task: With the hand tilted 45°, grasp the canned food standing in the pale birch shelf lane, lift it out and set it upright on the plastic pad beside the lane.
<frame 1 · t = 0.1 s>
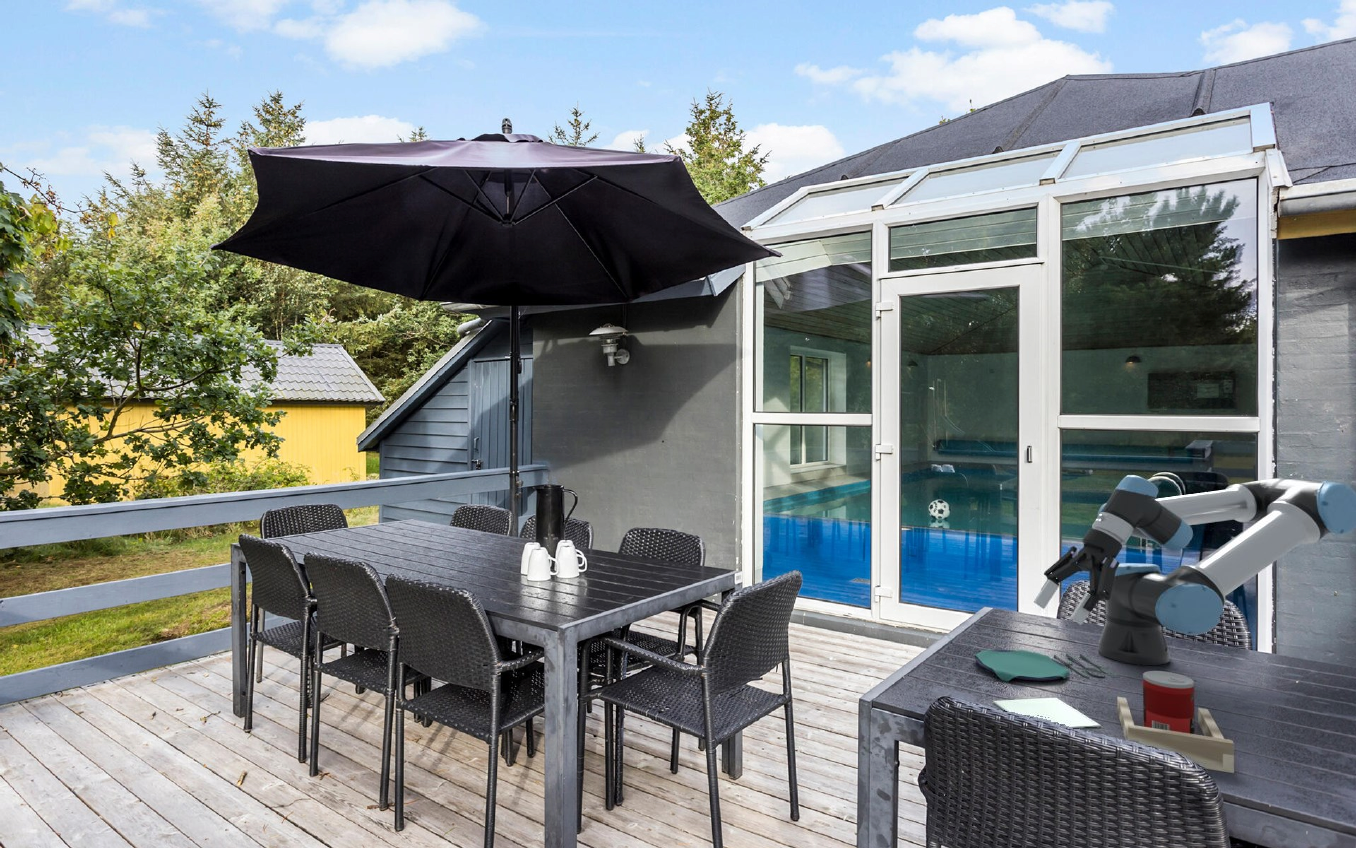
hand: (1056, 613, 165), 15 cm above the table, tool tilted 35°, fingers open, 13 cm apart
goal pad: (1044, 714, 146), on the table
cutlery set: (1041, 672, 172), on the table
canned food: (1168, 737, 135), resting in shelf lane
shelf lane: (1169, 737, 134), on the table
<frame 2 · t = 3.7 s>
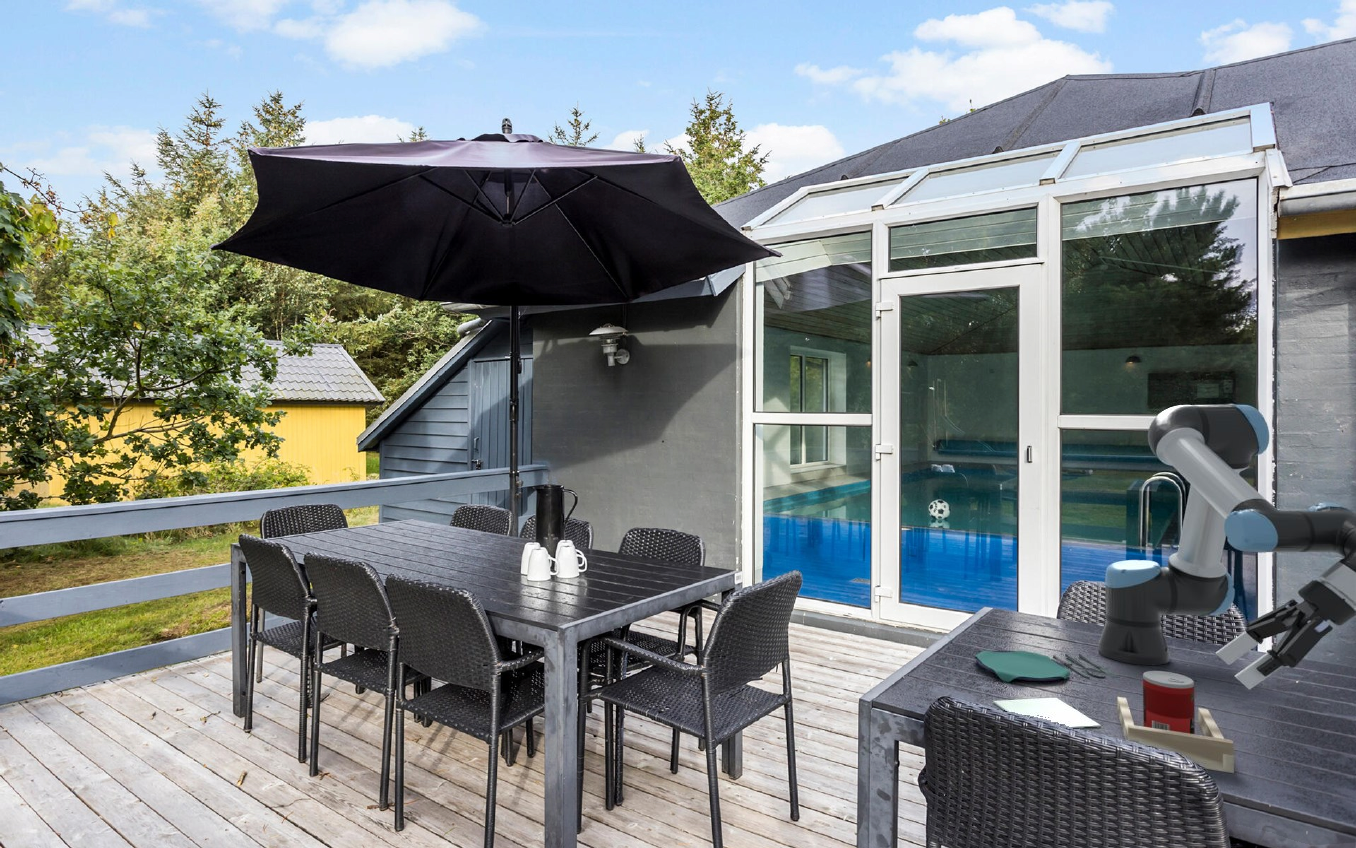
hand: (1231, 670, 131), 14 cm above the table, tool tilted 45°, fingers open, 13 cm apart
nothing on the table moved.
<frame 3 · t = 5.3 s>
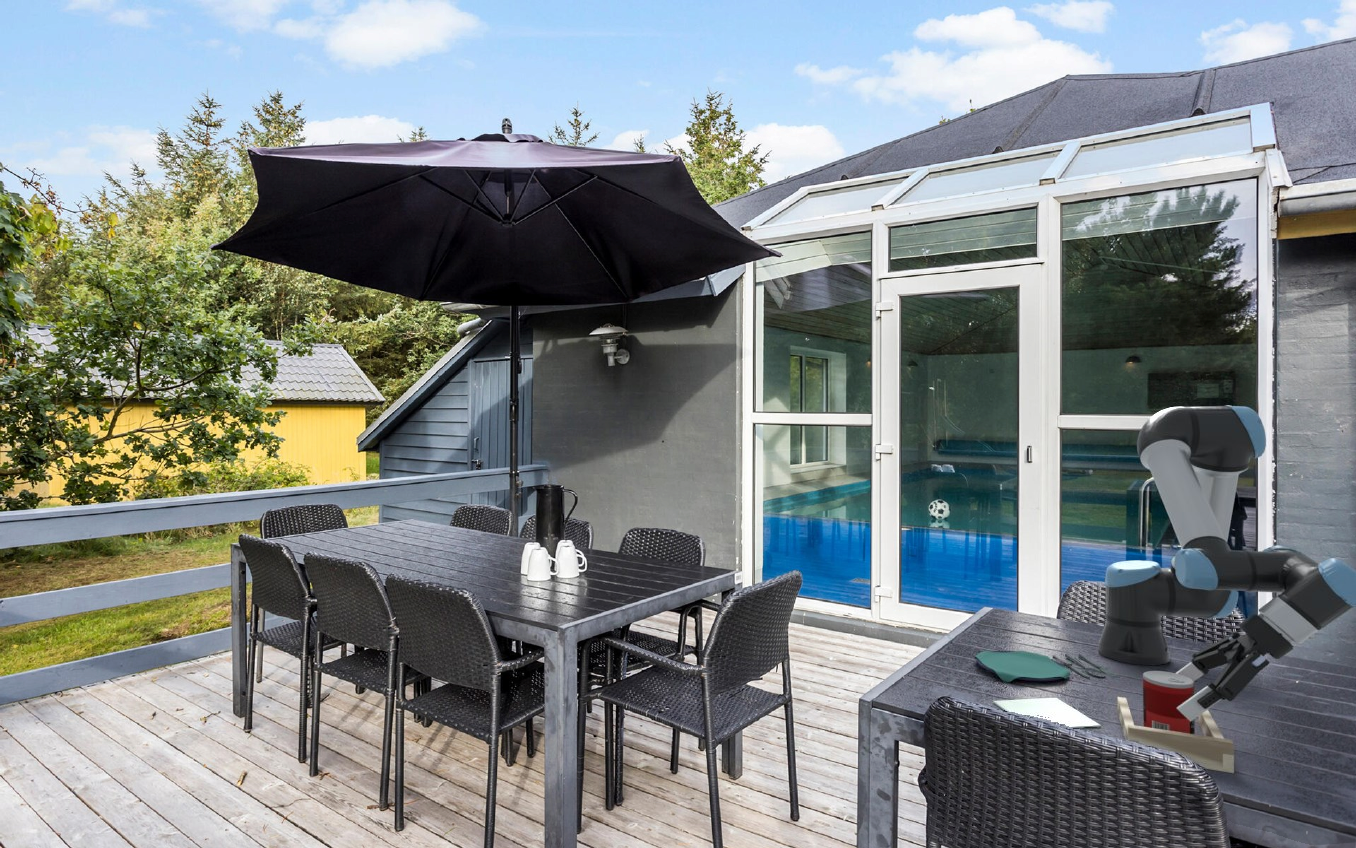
hand: (1175, 701, 134), 7 cm above the table, tool tilted 45°, fingers open, 13 cm apart
nothing on the table moved.
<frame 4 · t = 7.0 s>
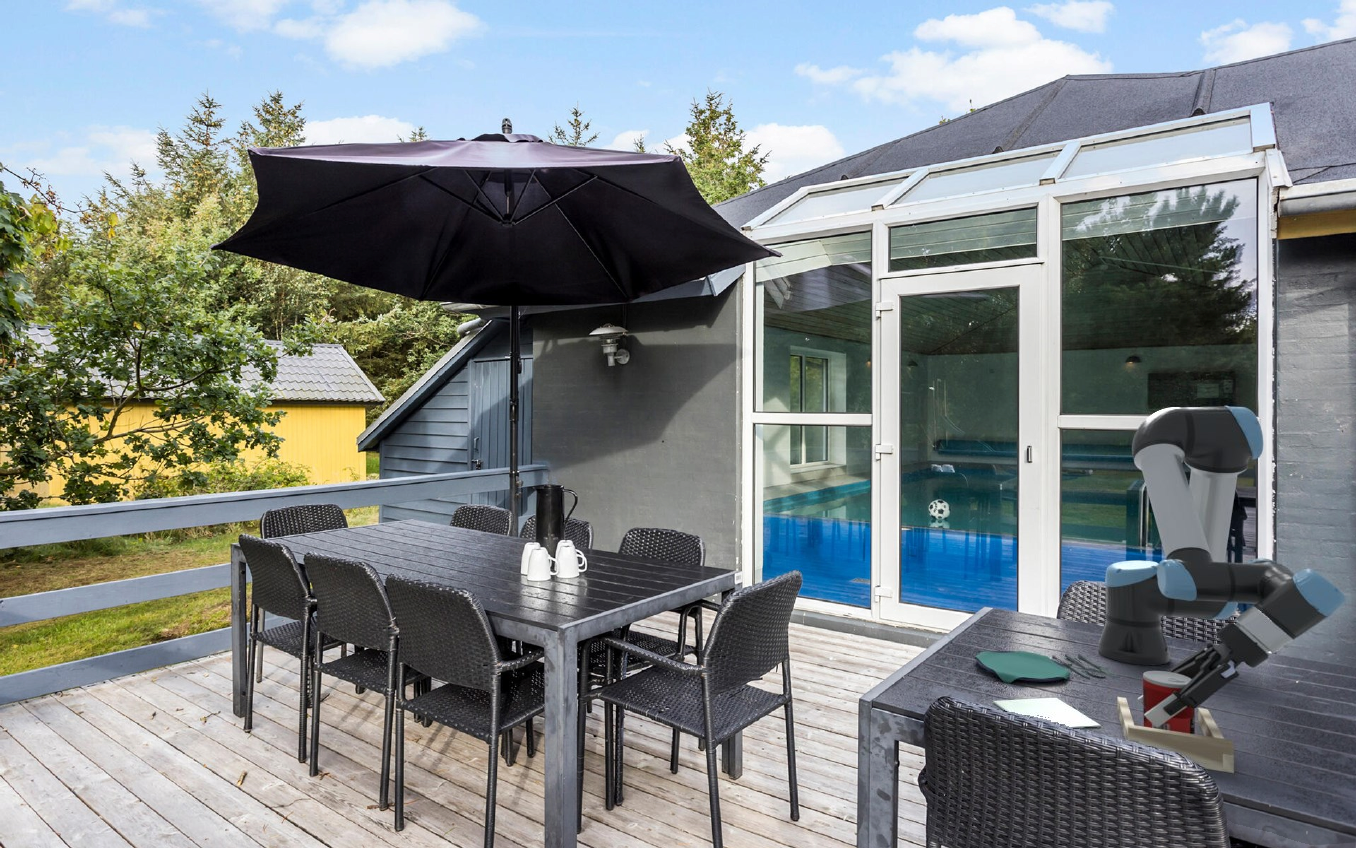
hand: (1147, 712, 137), 4 cm above the table, tool tilted 45°, fingers closed on canned food, 8 cm apart
canned food: (1168, 736, 135), resting in shelf lane, touching gripper
everything else where it was.
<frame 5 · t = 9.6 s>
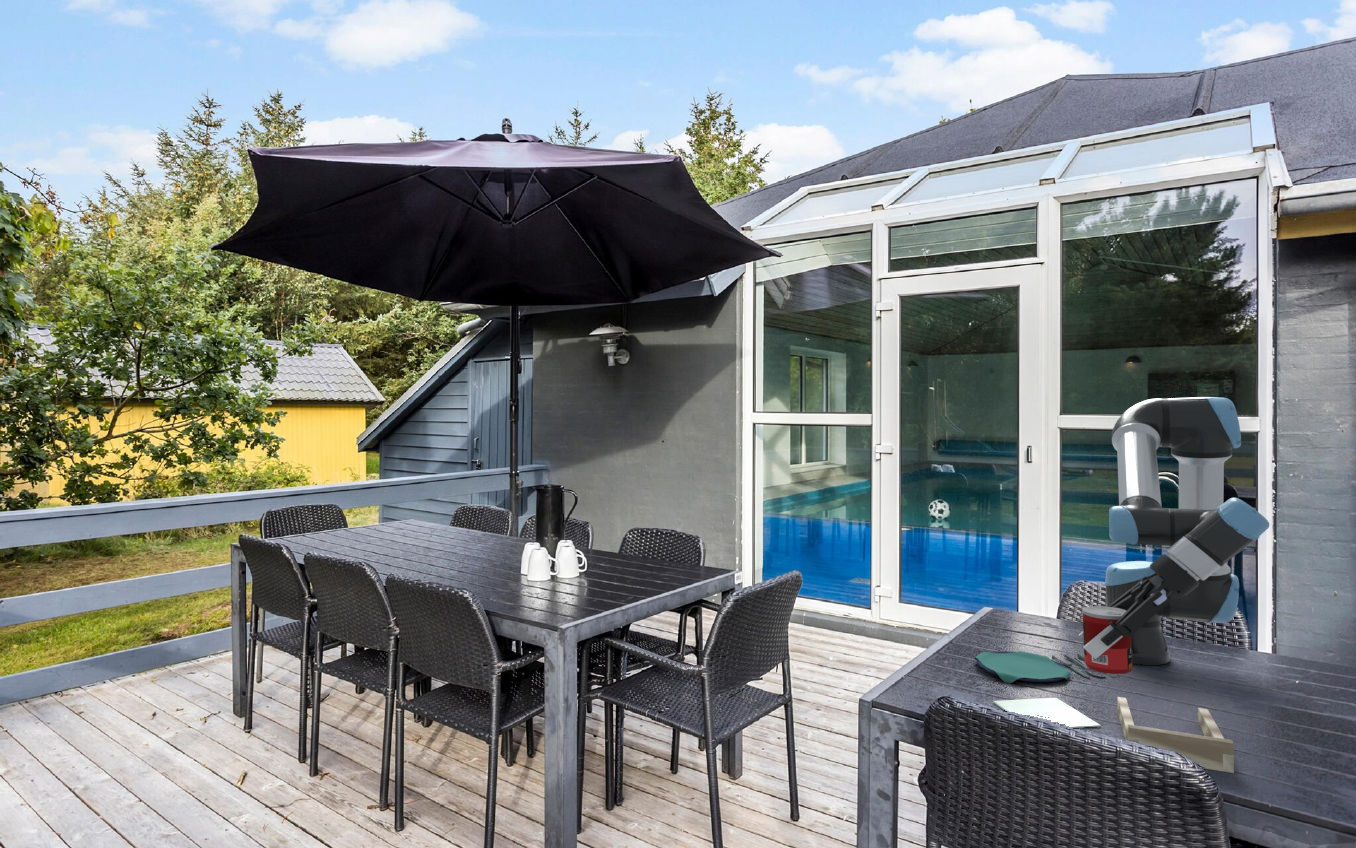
hand: (1087, 646, 140), 15 cm above the table, tool tilted 45°, fingers closed on canned food, 8 cm apart
canned food: (1108, 669, 139), point 12 cm above the table, touching gripper
everything else where it was.
when the fingers open (5 cm above the table, at t = 12.1 s): canned food drops 1 cm, resting on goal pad.
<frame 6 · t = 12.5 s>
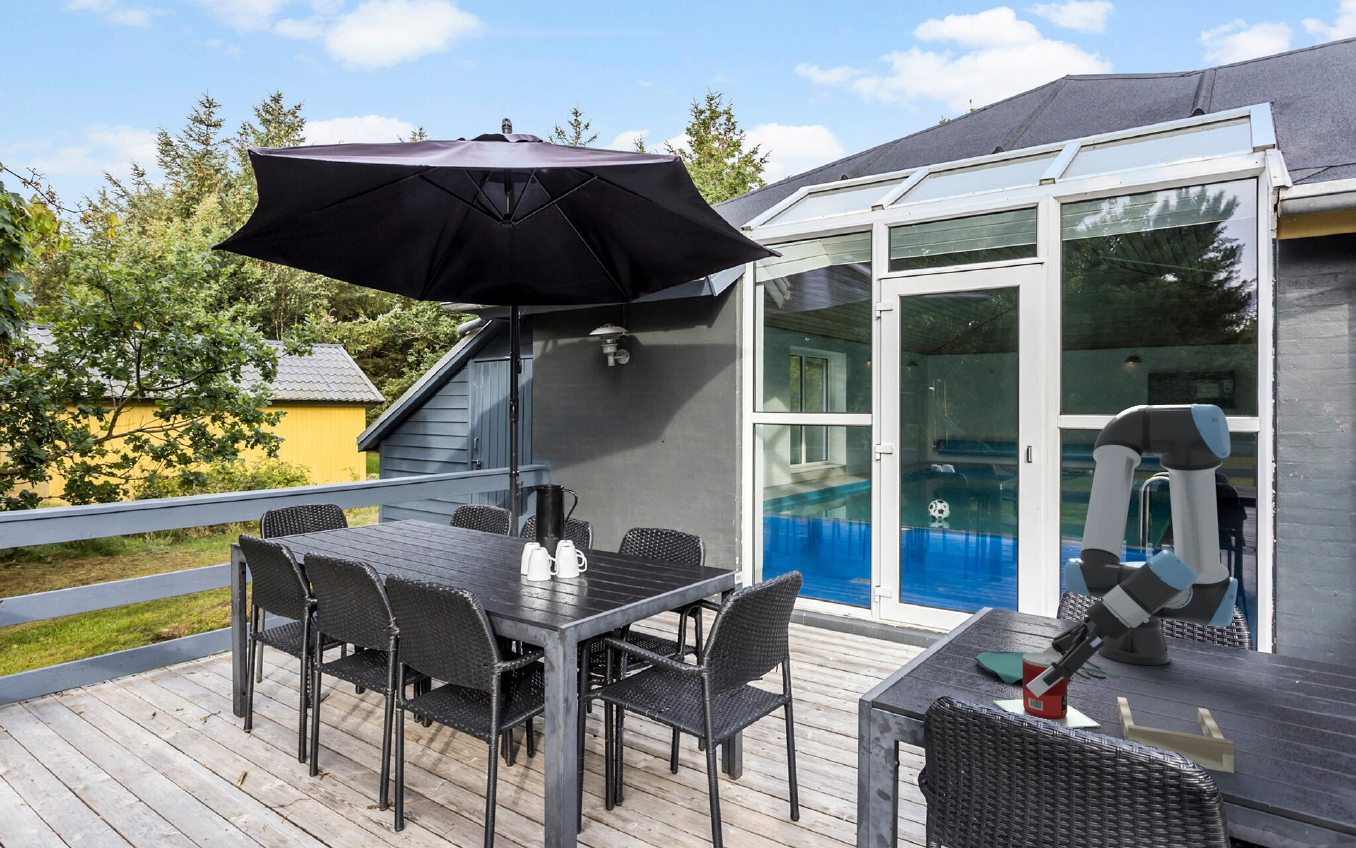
hand: (1031, 680, 147), 7 cm above the table, tool tilted 45°, fingers open, 13 cm apart
canned food: (1045, 713, 146), resting on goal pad
everything else where it was.
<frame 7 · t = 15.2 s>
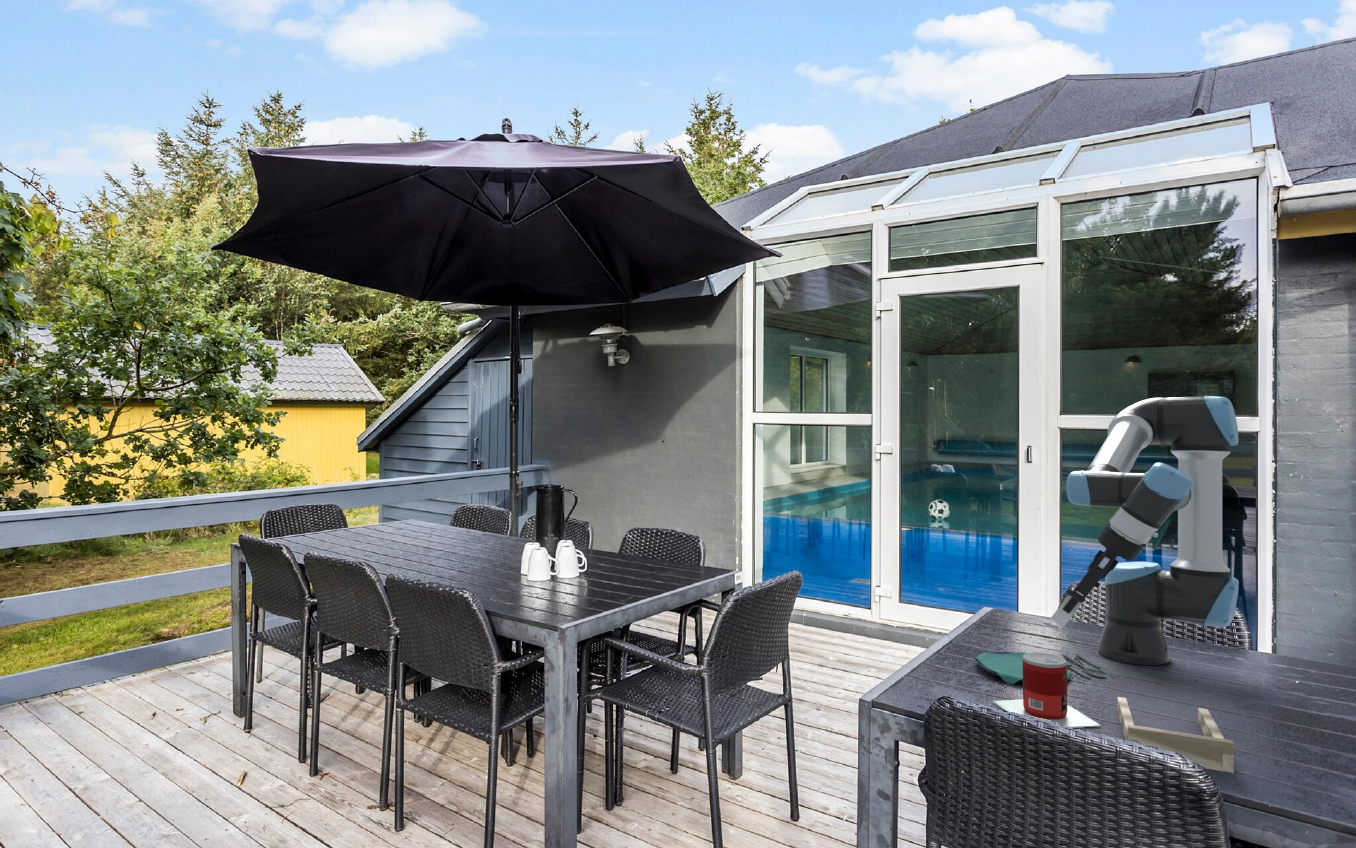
hand: (1063, 614, 151), 19 cm above the table, tool tilted 35°, fingers open, 13 cm apart
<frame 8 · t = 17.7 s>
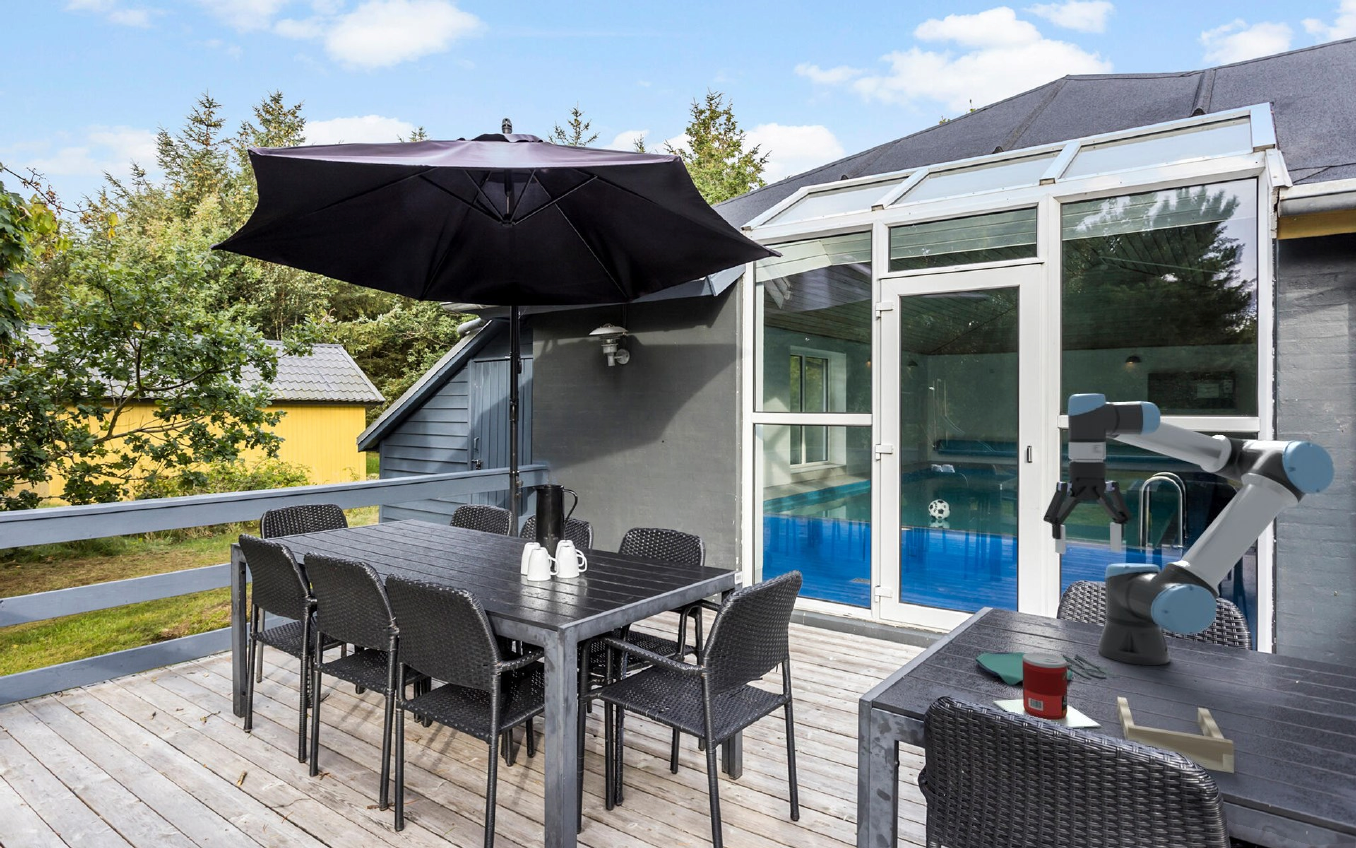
hand: (1088, 552, 167), 29 cm above the table, tool pointing down, fingers open, 13 cm apart
at the end: canned food inside the target area on the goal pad (0.1 cm from its centre), point 0.2 cm above the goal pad's base; canned food tilted 0°; the gripper is holding nothing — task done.
